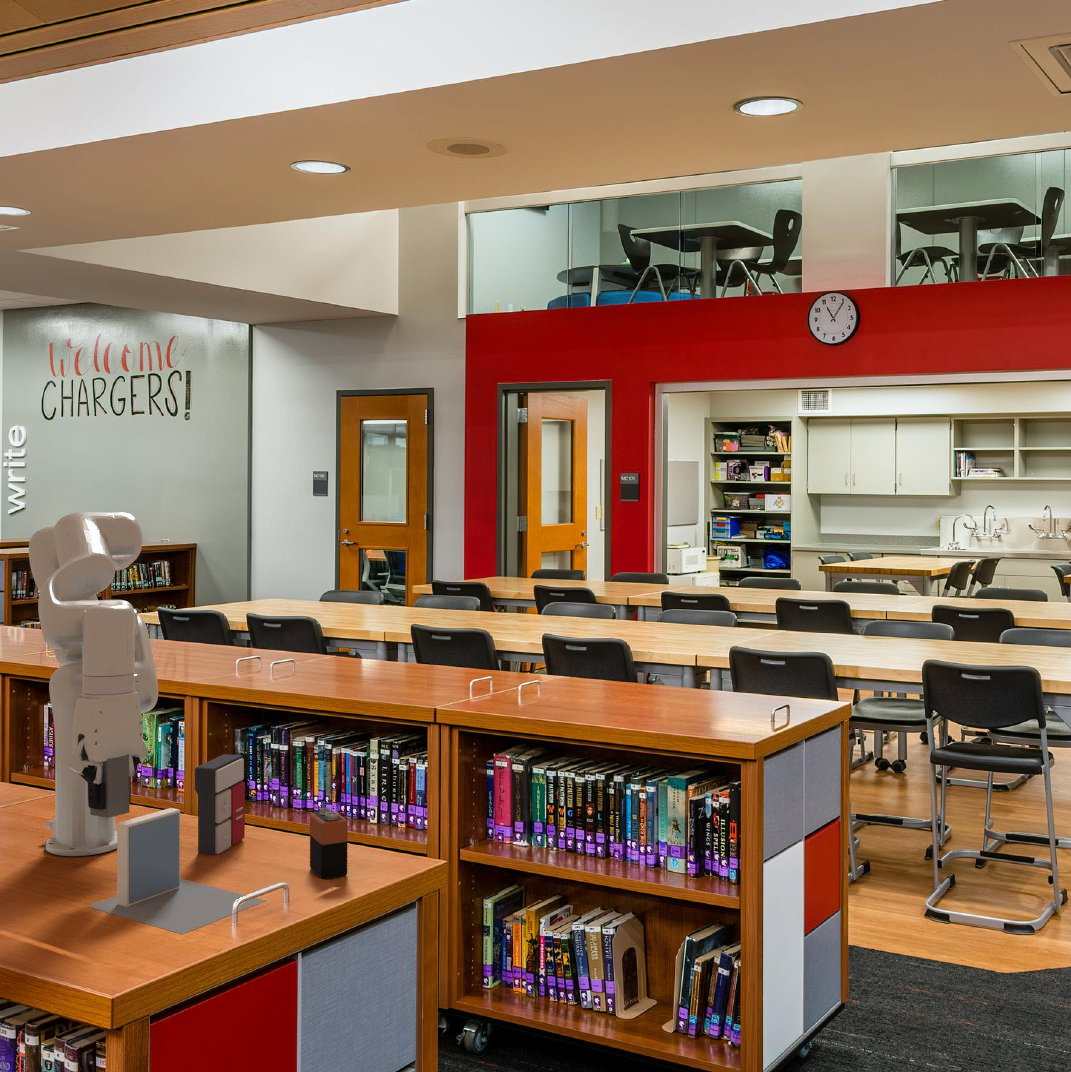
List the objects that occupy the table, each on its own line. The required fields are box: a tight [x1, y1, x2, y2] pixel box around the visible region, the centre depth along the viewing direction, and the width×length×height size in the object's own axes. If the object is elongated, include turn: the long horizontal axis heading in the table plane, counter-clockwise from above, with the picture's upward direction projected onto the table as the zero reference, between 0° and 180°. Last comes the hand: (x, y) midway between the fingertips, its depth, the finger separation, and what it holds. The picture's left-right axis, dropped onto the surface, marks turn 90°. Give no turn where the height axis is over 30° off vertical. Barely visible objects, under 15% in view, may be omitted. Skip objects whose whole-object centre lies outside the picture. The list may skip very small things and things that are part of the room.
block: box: [90, 754, 130, 818], centre depth 180 cm, size 4×4×9 cm
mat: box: [86, 878, 267, 935], centre depth 173 cm, size 20×16×1 cm
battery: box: [309, 807, 349, 880], centre depth 189 cm, size 4×7×10 cm, turn 28°
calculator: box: [194, 753, 246, 856], centre depth 202 cm, size 11×4×15 cm, turn 168°
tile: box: [116, 807, 181, 907], centre depth 176 cm, size 2×10×12 cm, turn 149°
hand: (109, 804), depth 180 cm, fingers closed on block, 4 cm apart
